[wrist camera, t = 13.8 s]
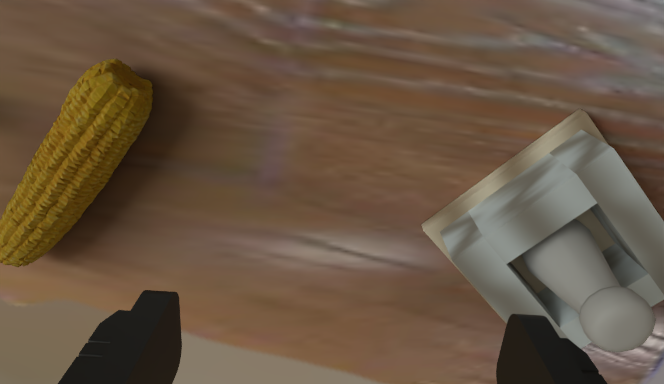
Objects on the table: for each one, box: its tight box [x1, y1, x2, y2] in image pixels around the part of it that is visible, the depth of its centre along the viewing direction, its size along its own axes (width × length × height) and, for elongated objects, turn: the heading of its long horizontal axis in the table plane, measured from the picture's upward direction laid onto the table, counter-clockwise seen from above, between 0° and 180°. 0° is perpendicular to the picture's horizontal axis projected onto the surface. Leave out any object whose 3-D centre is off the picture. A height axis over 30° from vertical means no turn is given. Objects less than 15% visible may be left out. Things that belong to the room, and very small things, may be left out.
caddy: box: [421, 109, 664, 349], centre depth 42 cm, size 16×16×6 cm
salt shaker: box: [522, 219, 656, 352], centre depth 37 cm, size 6×6×13 cm
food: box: [0, 59, 153, 267], centre depth 40 cm, size 21×6×6 cm, turn 142°
